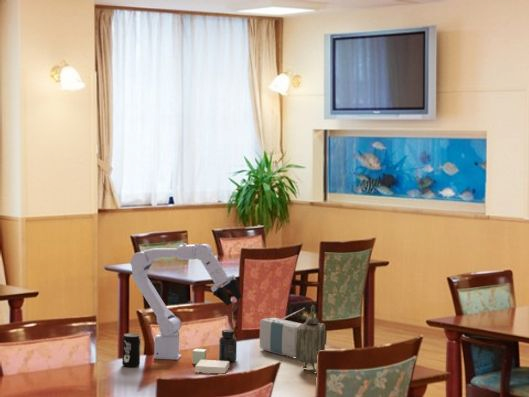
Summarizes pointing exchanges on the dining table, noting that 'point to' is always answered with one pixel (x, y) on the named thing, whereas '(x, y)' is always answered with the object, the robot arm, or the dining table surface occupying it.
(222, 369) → the ceramic base
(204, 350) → the sage block
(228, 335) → the supplement bottle
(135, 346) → the beverage can
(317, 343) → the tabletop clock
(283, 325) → the stereo radio cassette player
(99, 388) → the dining table surface
